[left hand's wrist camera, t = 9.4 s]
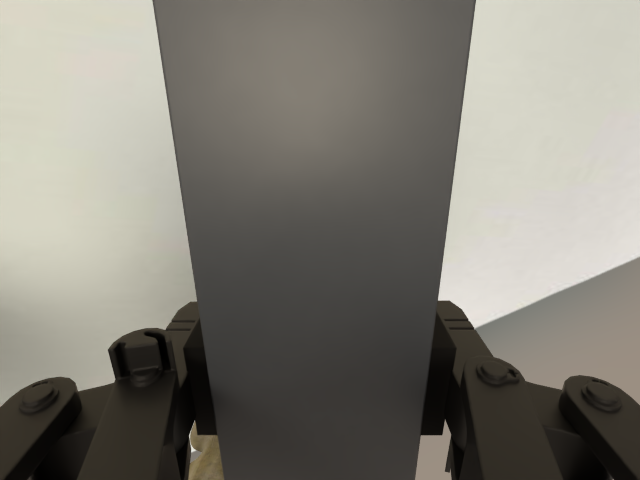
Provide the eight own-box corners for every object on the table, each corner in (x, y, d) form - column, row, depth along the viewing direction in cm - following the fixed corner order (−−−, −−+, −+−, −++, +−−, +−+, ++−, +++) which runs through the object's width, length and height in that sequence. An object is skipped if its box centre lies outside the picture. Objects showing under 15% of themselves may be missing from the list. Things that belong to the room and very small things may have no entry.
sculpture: (215, 387, 42) (163, 531, 28) (219, 336, 39) (165, 467, 25) (265, 393, 42) (238, 539, 28) (272, 344, 40) (247, 476, 26)
